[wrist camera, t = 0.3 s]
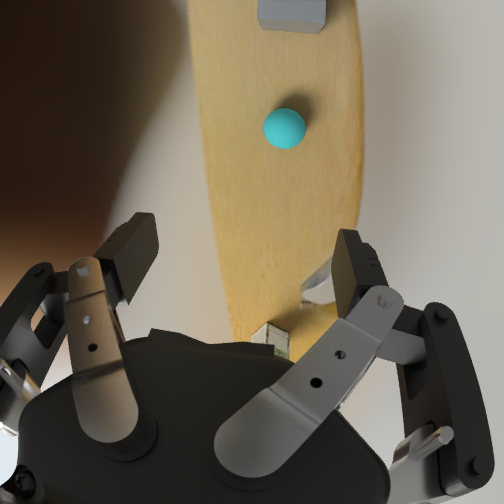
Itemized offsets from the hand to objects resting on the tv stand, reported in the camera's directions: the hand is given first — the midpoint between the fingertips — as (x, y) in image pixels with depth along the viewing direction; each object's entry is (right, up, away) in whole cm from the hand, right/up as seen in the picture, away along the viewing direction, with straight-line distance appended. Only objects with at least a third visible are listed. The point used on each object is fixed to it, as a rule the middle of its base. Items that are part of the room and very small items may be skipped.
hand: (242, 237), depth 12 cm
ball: (+4, +14, +20) cm, 25 cm away
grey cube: (+5, +29, +13) cm, 32 cm away
